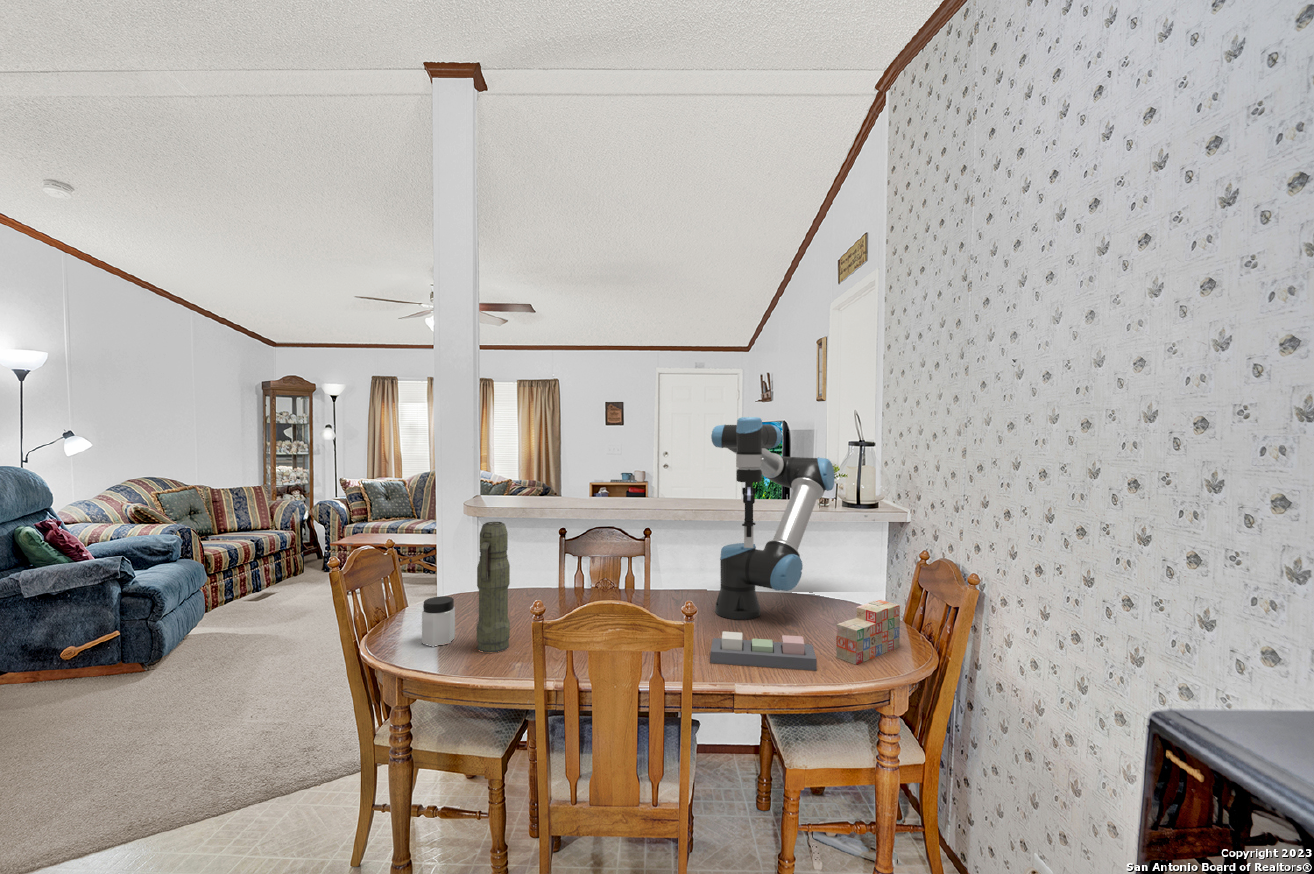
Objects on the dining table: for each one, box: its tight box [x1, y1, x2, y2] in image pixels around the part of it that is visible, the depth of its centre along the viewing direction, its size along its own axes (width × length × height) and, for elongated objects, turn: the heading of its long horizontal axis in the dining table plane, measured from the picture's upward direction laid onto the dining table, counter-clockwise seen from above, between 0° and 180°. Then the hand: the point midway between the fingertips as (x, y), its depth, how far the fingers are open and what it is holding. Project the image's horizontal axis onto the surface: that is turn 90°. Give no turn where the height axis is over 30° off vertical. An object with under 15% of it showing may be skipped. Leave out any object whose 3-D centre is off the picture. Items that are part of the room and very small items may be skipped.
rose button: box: [781, 634, 805, 655], centre depth 147 cm, size 5×5×4 cm
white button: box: [721, 630, 743, 651], centre depth 149 cm, size 5×5×4 cm
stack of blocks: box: [835, 599, 901, 665], centre depth 153 cm, size 21×6×12 cm, turn 127°
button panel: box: [709, 637, 818, 672], centre depth 148 cm, size 27×10×3 cm, turn 80°
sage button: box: [751, 638, 774, 653], centre depth 148 cm, size 5×5×4 cm
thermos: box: [476, 521, 511, 653], centre depth 155 cm, size 9×12×35 cm
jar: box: [421, 595, 456, 646], centre depth 159 cm, size 9×8×12 cm
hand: (748, 547), depth 166 cm, fingers closed
